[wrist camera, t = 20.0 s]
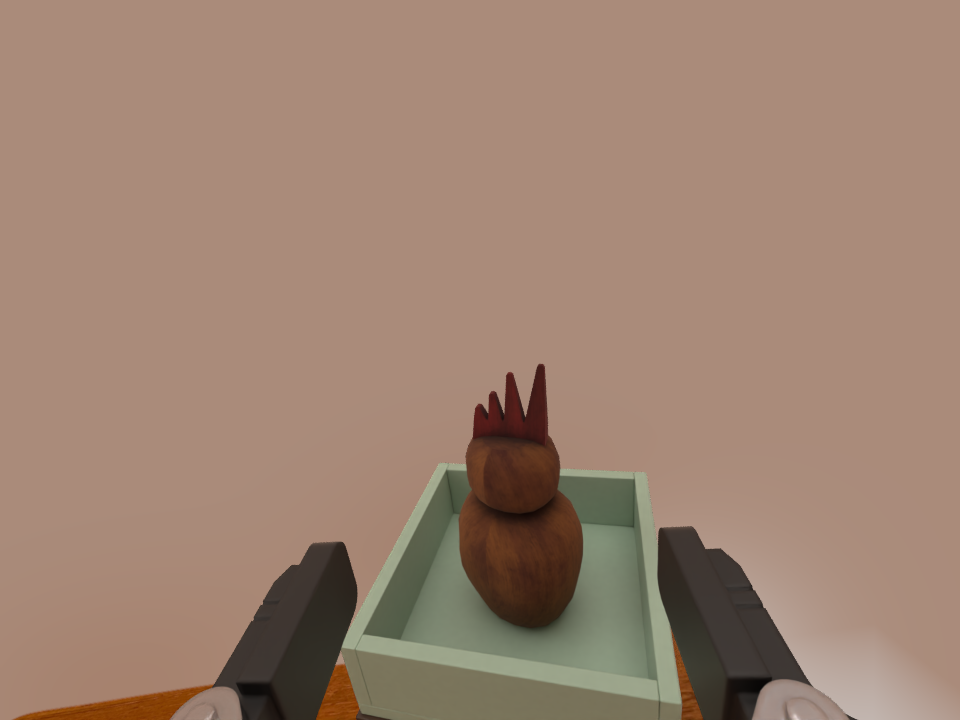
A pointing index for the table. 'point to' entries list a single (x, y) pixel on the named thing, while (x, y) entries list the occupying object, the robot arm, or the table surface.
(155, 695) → the table surface
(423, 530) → the bin
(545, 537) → the wooden figurine
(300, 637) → the robot arm
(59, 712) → the table surface
